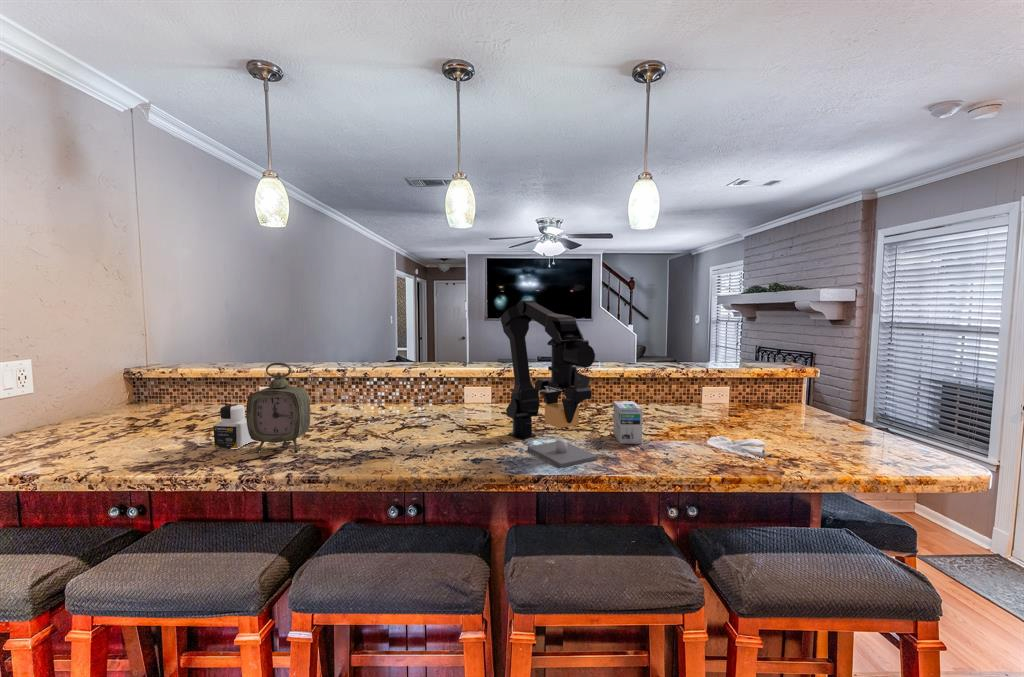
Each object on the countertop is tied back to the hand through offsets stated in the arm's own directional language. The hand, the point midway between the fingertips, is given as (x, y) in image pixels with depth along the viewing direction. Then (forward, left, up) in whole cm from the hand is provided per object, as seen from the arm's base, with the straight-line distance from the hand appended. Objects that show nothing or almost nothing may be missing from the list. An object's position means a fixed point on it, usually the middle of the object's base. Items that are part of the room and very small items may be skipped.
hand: (561, 420), depth 124 cm
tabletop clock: (-44, -66, -10) cm, 80 cm away
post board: (0, 0, -10) cm, 10 cm away
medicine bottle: (-55, -78, -10) cm, 96 cm away
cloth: (+22, +49, -11) cm, 55 cm away
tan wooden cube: (0, 0, -1) cm, 1 cm away
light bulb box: (-2, +26, -10) cm, 28 cm away
